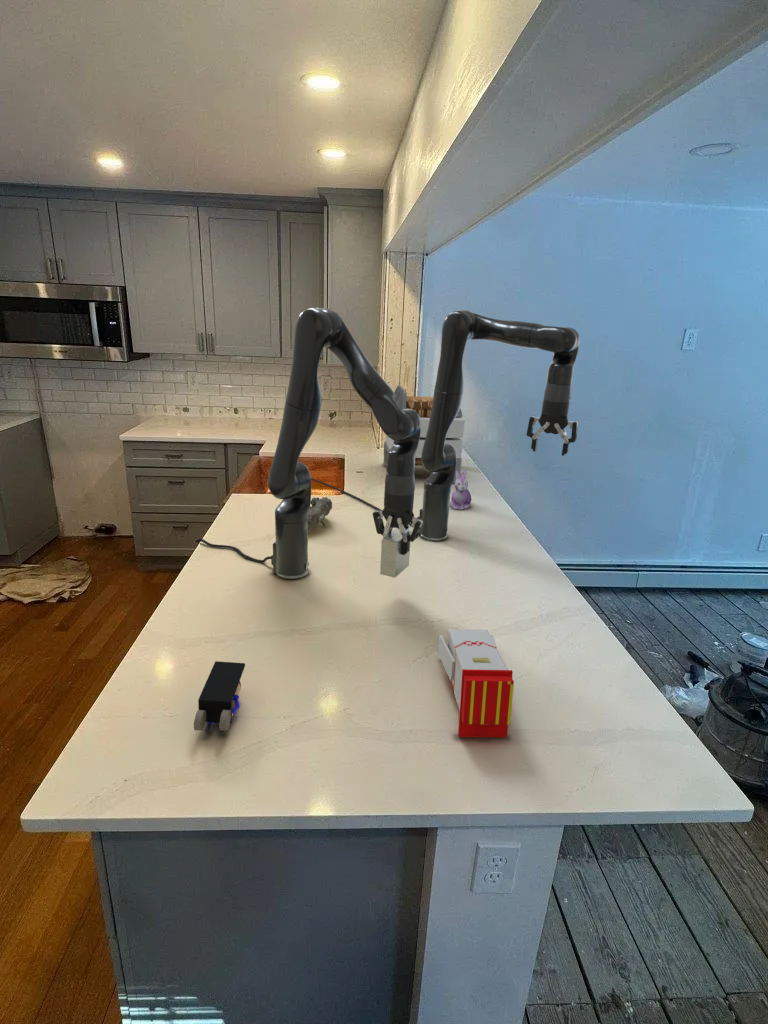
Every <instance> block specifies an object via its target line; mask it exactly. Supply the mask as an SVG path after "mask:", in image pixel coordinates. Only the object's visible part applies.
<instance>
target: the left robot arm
mask: <svg viewBox="0 0 768 1024" xmlns="http://www.w3.org/2000/svg"><path fill="white" fill-rule="evenodd" d="M293 340H294V341H293V351H292V352H293V353H292V362H291V368H290V369H291V370H290V374H289V381H288V388H287V392H286V396H285V401H284V407H283V413H282V420H281V425H280V429H279V435H278V441H277V445H276V448H275V451H274V455H273V458H272V462H271V465H270V469H269V472H268V476H267V477H268V479H267V484H268V489H269V491H270V493H271V495H272V496H273V497H274V498H275V499H278V500H281V502H280V503H279V504H278V505H277V506H276V507H275V511H274V533H275V537H274V538H275V541H274V542H273V543H272V554H271V555H269V556H266V557H264V558H263V559H256V558H254V557H251V556H250V555H247V554H245V553H243V552H242V551H241V549H239V548H238V547H236V546H232V545H226V544H215V543H211V542H208V541H207V540H206V539H204V538H198V539H197V540H196V541H195V542H196V543H199V542H202V543H203V544H205V545H207V546H209V547H213V548H221V549H222V548H223V549H231V550H234V551H236V552H237V553H238V554H239V555H240V556H241V557H243V558H245V559H247V560H249V561H252V562H255V563H260V564H261V563H262V564H263V563H265V562H266V561H267V560H270V562H271V563H270V564H271V566H272V569H273V570H272V572H273V574H274V575H276V576H277V577H279V578H281V579H284V580H298V579H302V578H304V577H306V576H307V575H308V574H309V566H310V560H309V532H308V512H309V509H310V507H311V506H312V504H311V500H312V480H311V478H312V475H311V472H310V469H309V467H308V466H307V465H306V464H305V463H303V462H301V461H299V460H300V456H301V454H302V452H303V449H304V448H305V447H306V445H307V444H308V441H309V440H310V439H311V437H312V435H314V432H315V430H316V428H317V425H318V423H319V422H318V421H319V419H320V413H321V410H322V404H323V395H322V389H321V384H320V380H319V365H320V361H321V356H322V352H323V349H324V348H327V349H328V350H329V351H331V352H332V353H333V354H334V355H335V356H336V357H337V358H338V360H339V361H340V362H341V363H342V365H343V367H344V370H345V371H346V373H347V376H348V378H349V381H350V384H351V386H352V388H353V389H354V390H355V392H356V393H357V395H358V396H359V397H360V398H361V400H362V401H363V402H364V403H365V404H366V406H367V407H368V408H369V409H370V411H372V414H373V416H374V418H375V420H376V422H377V424H378V425H379V427H380V429H381V431H382V432H383V433H384V435H385V436H386V435H387V436H388V437H389V438H390V439H392V440H394V443H393V447H392V448H391V449H390V450H389V452H388V455H387V466H386V472H385V478H384V490H383V491H384V493H383V509H382V510H383V511H380V510H377V509H376V510H375V511H373V512H372V518H373V522H374V527H375V530H376V534H378V535H381V536H382V537H383V538H384V537H386V536H387V535H388V534H390V533H391V532H392V531H393V530H394V528H395V529H400V533H401V534H402V538H403V542H402V555H405V554H407V553H408V552H409V548H410V549H411V543H413V542H414V541H416V539H418V537H419V532H420V530H421V527H422V525H423V522H424V520H423V519H420V520H419V519H417V517H416V516H415V513H414V503H415V502H414V501H415V490H416V485H415V484H416V478H415V467H416V466H415V455H416V451H417V448H418V444H419V439H420V435H421V419H420V417H419V415H418V413H417V412H416V411H414V410H412V409H403V410H400V409H399V408H398V406H397V405H396V403H395V401H394V400H395V394H394V392H395V391H394V390H393V389H392V387H391V386H390V385H389V384H388V383H387V381H385V379H384V378H383V377H382V376H381V375H380V373H379V372H378V371H377V370H376V369H375V367H374V366H373V365H372V363H371V362H370V361H369V360H368V358H367V357H366V355H365V354H364V352H363V351H362V349H361V348H360V346H359V345H358V342H356V340H355V338H354V337H353V335H352V334H351V332H350V330H349V328H348V327H347V325H346V323H345V322H344V320H343V319H342V317H341V316H340V315H339V314H338V312H337V311H335V310H334V309H332V308H327V307H309V308H306V309H304V310H302V312H301V313H299V316H298V317H297V320H296V324H295V328H294V339H293ZM383 518H384V519H383ZM384 520H385V521H386V523H384ZM411 521H412V522H413V524H412V527H413V529H412V531H411V525H409V523H411ZM410 532H411V535H410ZM383 538H382V539H383Z"/></svg>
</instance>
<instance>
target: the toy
mask: <svg viewBox="0 0 768 1024" xmlns="http://www.w3.org/2000/svg"><path fill="white" fill-rule="evenodd" d="M446 640H447V643H446V641H445V639H444V636H443V635H442V634H439V637H438V646H437V656H438V657H439V659H440V661H441V663H442V666H443V668H444V670H445V672H446V674H447V677H448V679H449V681H450V684H451V687H452V690H453V693H454V697H455V701H456V705H457V708H458V711H459V714H458V715H459V716H458V730H457V731H458V732H457V737H458V738H508V731H509V726H510V725H511V717H512V707H513V697H514V696H513V695H514V684H515V680H514V679H513V673H514V671H513V670H512V669H508V667H507V665H506V662H505V661H504V659H503V658H502V655H501V653H500V651H499V649H498V647H497V643H496V639H495V637H494V635H493V634H491V632H490V631H489V629H467V628H466V629H465V628H463V629H461V628H460V629H459V628H448V630H447V639H446Z"/></svg>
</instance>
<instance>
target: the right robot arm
mask: <svg viewBox="0 0 768 1024" xmlns="http://www.w3.org/2000/svg"><path fill="white" fill-rule="evenodd" d="M442 322H443V323H442V327H441V329H442V330H441V342H440V356H439V362H438V367H437V372H436V378H435V379H436V380H435V384H434V389H433V396H432V397H433V403H432V410H431V415H430V420H429V426H428V430H427V434H426V438H425V442H424V445H423V449H422V454H421V461H422V465H423V466H422V467H423V470H425V471H426V472H428V473H430V474H429V476H428V477H427V478H426V479H425V480H424V482H423V493H422V496H423V497H422V506H421V508H420V509H419V516H417V517H416V518H417V519H419V520H420V519H423V520H424V522H423V525H422V527H421V530H420V532H419V535H418V537H419V536H420V538H421V539H424V540H426V541H432V542H440V541H444V540H446V539H447V538H448V531H449V527H448V525H449V517H450V516H449V514H450V506H451V494H452V493H451V491H452V486H453V485H454V483H453V482H454V477H455V470H456V462H457V455H456V451H455V448H454V447H453V445H452V444H450V443H448V442H445V439H446V435H447V432H448V430H449V428H450V426H451V424H452V423H453V421H454V419H455V418H456V416H457V414H458V412H459V410H460V408H461V406H462V403H463V398H464V393H465V392H464V391H465V376H464V367H463V364H464V363H463V362H464V355H465V350H466V345H467V343H468V341H478V340H479V341H480V340H483V341H484V340H485V341H493V342H497V343H502V344H504V345H507V346H508V345H509V346H513V347H519V348H524V349H531V350H532V349H533V350H540V351H545V352H549V353H553V354H552V360H551V362H550V364H549V366H548V368H547V369H548V370H547V376H546V383H545V388H544V391H543V397H542V398H543V400H542V407H541V413H540V417H537V416H535V415H532V416H530V417H529V420H528V424H527V430H526V436H527V437H529V438H531V446H530V448H531V450H532V452H537V450H538V442H539V436H540V435H542V434H543V432H544V433H545V434H552V435H559V436H560V438H561V439H562V441H563V444H562V448H561V449H562V450H561V456H562V457H565V455H567V453H569V447H570V444H571V443H575V442H576V441H577V437H578V427H579V422H578V420H574V421H570V420H569V419H568V418H569V417H568V416H569V410H570V403H571V399H572V385H573V379H574V378H573V377H574V370H575V369H574V368H575V364H576V360H577V357H578V353H579V349H580V342H581V337H580V333H579V331H578V330H577V329H576V328H574V327H569V326H568V327H567V326H566V327H563V326H551V325H544V324H541V323H537V322H536V323H535V322H528V321H520V320H505V319H497V318H492V317H488V316H484V315H481V314H477V313H475V312H471V311H470V310H467V309H458V310H453V311H450V312H449V313H448V314H446V316H445V318H444V319H443V321H442ZM537 423H539V425H540V428H539V429H538V430H537V431H536V432H535V433H534V427H535V425H536V424H537ZM568 426H569V429H571V435H570V436H571V437H569V435H568V433H567V431H566V430H565V429H566V428H567V427H568ZM311 481H314V482H316V483H318V484H320V485H323V486H326V487H329V488H332V489H333V490H336V491H338V492H340V493H343V494H345V495H347V496H349V497H352V498H354V499H356V500H358V501H360V502H361V503H364V504H366V505H368V506H369V507H372V508H373V509H375V510H376V511H377V510H380V511H383V509H381V508H379V507H377V506H375V505H374V504H371V503H370V502H367V501H366V500H364V499H362V498H360V497H357V496H356V495H354V494H352V493H350V492H347V491H345V490H343V489H341V488H338V487H335V486H333V485H331V484H328V483H326V482H323V481H320V480H318V479H315V478H313V477H311ZM409 526H413V522H412V521H411V522H410V523H409Z"/></svg>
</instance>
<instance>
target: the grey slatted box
mask: <svg viewBox="0 0 768 1024" xmlns="http://www.w3.org/2000/svg"><path fill="white" fill-rule="evenodd" d="M393 392H394V394H395V400H394V401H395V403H396V405H397V406H398V408H399V409H400V410H403V409H412V410H414V411H416V412H417V413H418V415H419V417H420V419H421V435H420V439H419V444H418V448H417V451H416V455H415V467H417V466H418V467H423V465H422V461H421V454H422V449H423V445H424V442H425V438H426V434H427V430H428V426H429V420H430V415H431V410H432V403H433V396H415V395H414V396H413V395H412V396H411V395H407V394H408V393H407V390H406V389H404V388H403V387H402V385H399V384H398V385H397V386H396V388H395V390H394V391H393ZM464 429H465V419H464V418H463V411H462V408H461V407H460V410H459V412H458V414H457V416H456V418H455V419H454V421H453V423H452V424H451V426H450V428H449V430H448V432H447V435H446V439H445V442H448V443H450V444H452V445H453V447H454V448H455V451H456V455H457V462H456V470H455V477H454V482H453V484H455V481H456V471H459V473H460V475H462V473H461V472H462V461H463V460H462V453H463V442H464V441H463V440H462V439H463V438H464V431H465V430H464ZM393 443H394V440H392V439H390V438H389V437H388V436H387V435H386V434H385V438H384V442H383V466H384V467H387V455H388V452H389V450H390V449H391V448H392V447H393Z"/></svg>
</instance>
